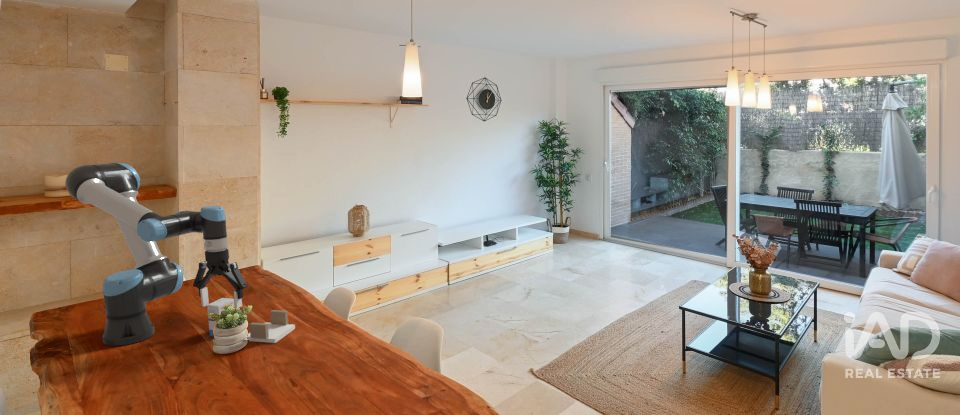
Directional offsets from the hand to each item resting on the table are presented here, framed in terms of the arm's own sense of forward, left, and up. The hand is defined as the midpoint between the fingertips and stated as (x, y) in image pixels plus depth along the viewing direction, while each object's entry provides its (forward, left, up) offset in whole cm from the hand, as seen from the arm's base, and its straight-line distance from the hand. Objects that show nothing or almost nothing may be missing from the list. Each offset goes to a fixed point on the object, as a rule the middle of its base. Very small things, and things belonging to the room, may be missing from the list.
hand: (222, 306), depth 180 cm
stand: (+18, +2, -10) cm, 20 cm away
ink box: (0, 0, -10) cm, 10 cm away
